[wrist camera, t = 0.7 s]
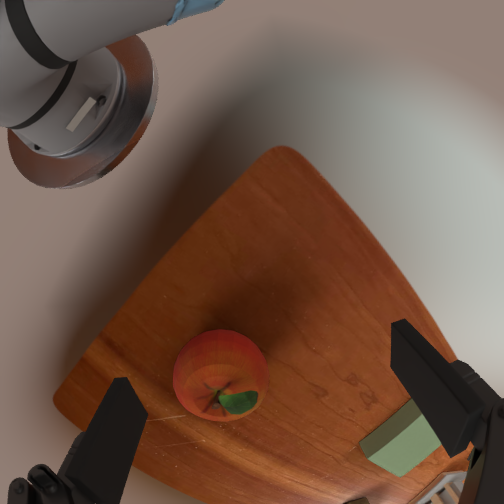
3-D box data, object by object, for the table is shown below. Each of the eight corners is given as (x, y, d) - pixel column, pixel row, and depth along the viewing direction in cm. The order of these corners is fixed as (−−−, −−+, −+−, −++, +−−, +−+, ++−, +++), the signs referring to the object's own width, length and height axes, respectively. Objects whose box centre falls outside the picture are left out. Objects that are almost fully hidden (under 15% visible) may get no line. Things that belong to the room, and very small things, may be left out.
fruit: (165, 333, 31) (141, 382, 21) (246, 304, 31) (253, 348, 21) (201, 398, 32) (193, 456, 22) (275, 375, 32) (290, 431, 22)
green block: (358, 442, 35) (367, 459, 31) (423, 386, 35) (437, 399, 31) (392, 463, 37) (400, 477, 33) (447, 416, 37) (458, 428, 33)
